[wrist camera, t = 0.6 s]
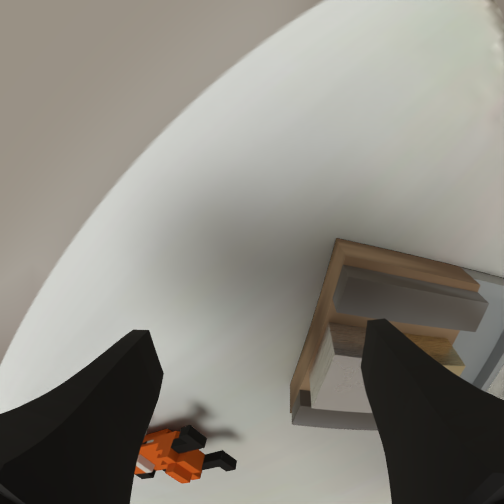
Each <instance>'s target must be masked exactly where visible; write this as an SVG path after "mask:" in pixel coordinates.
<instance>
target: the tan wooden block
mask: <svg viewBox="0 0 504 504" xmlns="http://www.w3.org/2000/svg"><path fill="white" fill-rule="evenodd" d="M403 334H404V335H405V336H406V337H408V338H409V339H410V340H411V341H412V342H414V343H415V344H416V345H417V346H418V347H420V348H421V349H422V350H423V351H424V352H426V353H427V354H428V355H430V356H431V357H432V358H433V359H435V360H436V361H437V362H439V363H440V364H442V365H443V366H444V367H446V368H447V369H448V370H450V371H451V372H453V373H454V374H456V375H457V376H460V375H461V373H462V372H463V370H464V368H465V367H466V366H465V364H464V363H463V361H462V360H461V358H460V357H459V355H458V354H457V352H456V351H455V349H454V348H453V346H452V345H451V343H450V342H449V340H448V339H447V338H441V337H432V336H423V335H415V334H407V333H403Z"/></svg>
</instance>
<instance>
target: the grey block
mask: <svg viewBox="0 0 504 504" xmlns="http://www.w3.org/2000/svg"><path fill="white" fill-rule="evenodd" d="M365 335H366V328H364V327H357V326H350V325H344V324H338V323H332V322H328V324H327V327H326V329H325V332H324V335H323V338H322V341H321V343H320V346H319V349H318V352H317V354H316V357H315V360H314V362H313V365H312V367H311V370H310V373H309V380H310V393H311V408H314V409H323V410H334V411H346V412H362V413H372V410H371V407H370V404H369V401H368V398H367V395H366V391H365V387H364V382H363V377H362V372H361V361H362V354H363V348H364V342H365Z"/></svg>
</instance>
